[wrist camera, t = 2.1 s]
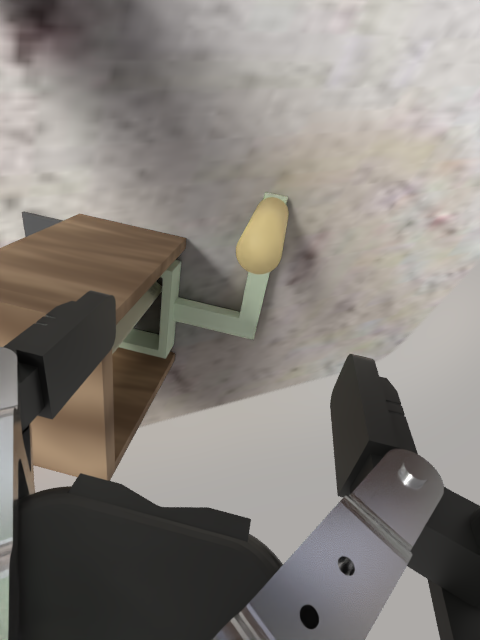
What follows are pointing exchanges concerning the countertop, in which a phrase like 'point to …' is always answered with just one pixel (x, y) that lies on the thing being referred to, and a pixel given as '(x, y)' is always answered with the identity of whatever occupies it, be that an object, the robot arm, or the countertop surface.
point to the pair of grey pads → (36, 223)
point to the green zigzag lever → (255, 257)
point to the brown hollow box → (115, 369)
